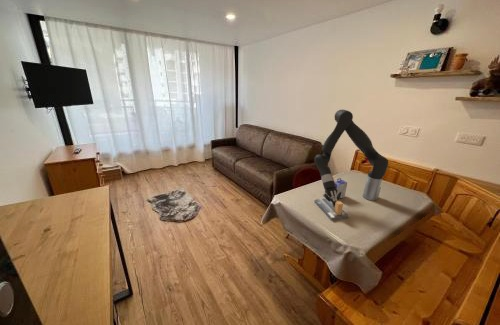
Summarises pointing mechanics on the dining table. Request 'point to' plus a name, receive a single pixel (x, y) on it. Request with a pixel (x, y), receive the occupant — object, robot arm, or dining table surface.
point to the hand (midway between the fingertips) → (336, 207)
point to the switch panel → (329, 209)
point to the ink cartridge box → (341, 187)
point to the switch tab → (338, 207)
